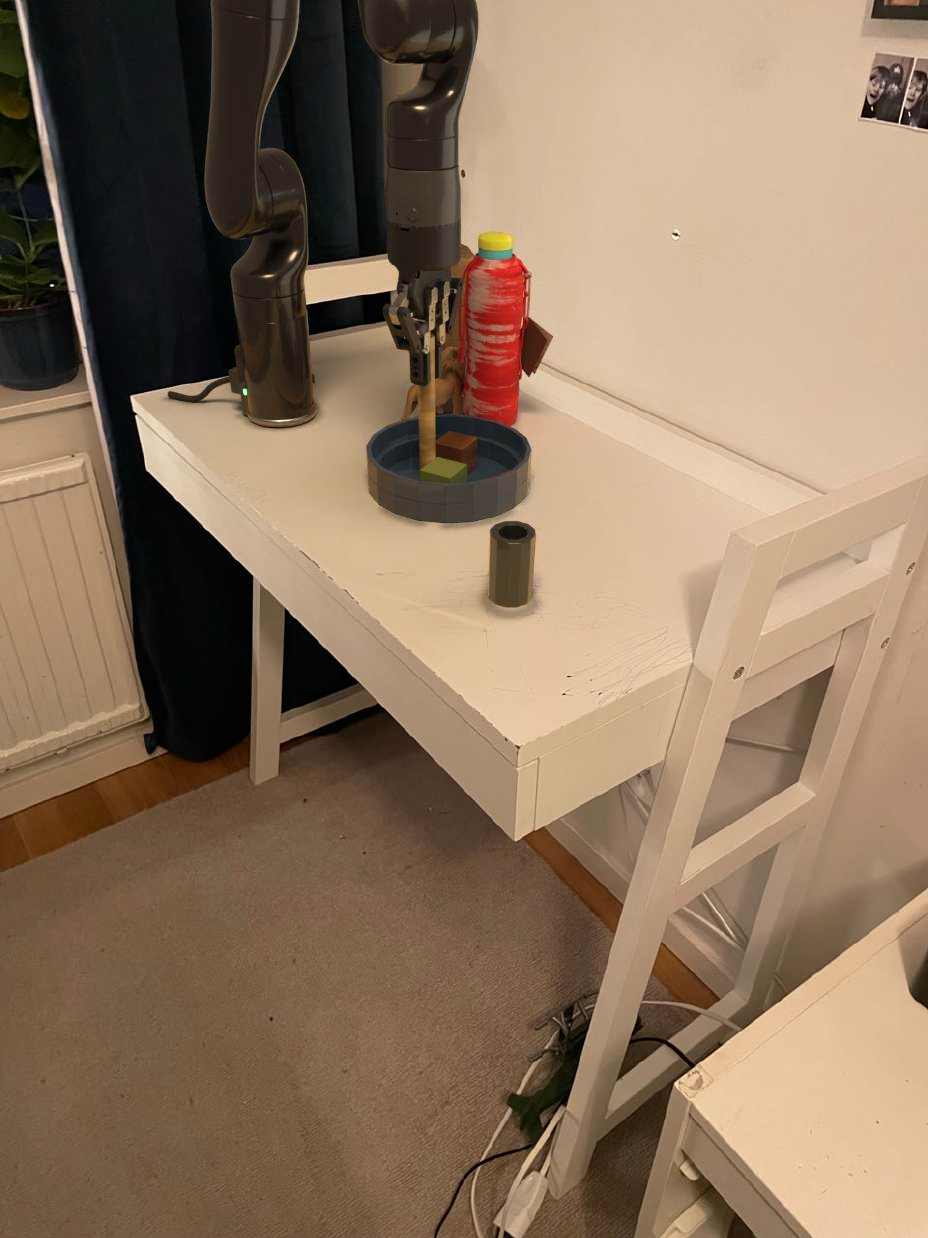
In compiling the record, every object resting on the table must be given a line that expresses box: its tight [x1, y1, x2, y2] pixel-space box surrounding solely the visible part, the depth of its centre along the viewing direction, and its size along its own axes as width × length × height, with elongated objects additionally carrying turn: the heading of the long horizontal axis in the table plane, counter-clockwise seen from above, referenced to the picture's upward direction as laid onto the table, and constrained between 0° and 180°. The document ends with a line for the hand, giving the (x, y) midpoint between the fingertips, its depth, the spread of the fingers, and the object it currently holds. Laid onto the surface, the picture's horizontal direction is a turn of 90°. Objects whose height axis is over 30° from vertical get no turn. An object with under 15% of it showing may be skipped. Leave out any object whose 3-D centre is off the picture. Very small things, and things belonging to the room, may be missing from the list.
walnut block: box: [436, 431, 478, 475], centre depth 114 cm, size 4×4×4 cm
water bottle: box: [458, 231, 554, 427], centre depth 121 cm, size 12×8×25 cm, turn 101°
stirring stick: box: [417, 333, 436, 470], centre depth 105 cm, size 2×2×17 cm
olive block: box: [420, 457, 467, 483], centre depth 108 cm, size 4×4×4 cm
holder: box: [487, 520, 537, 609], centre depth 91 cm, size 4×4×8 cm
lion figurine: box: [400, 347, 466, 421], centre depth 125 cm, size 15×5×9 cm, turn 153°
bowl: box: [365, 413, 533, 524], centre depth 111 cm, size 19×19×6 cm
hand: (426, 379), depth 103 cm, fingers closed on stirring stick, 2 cm apart
